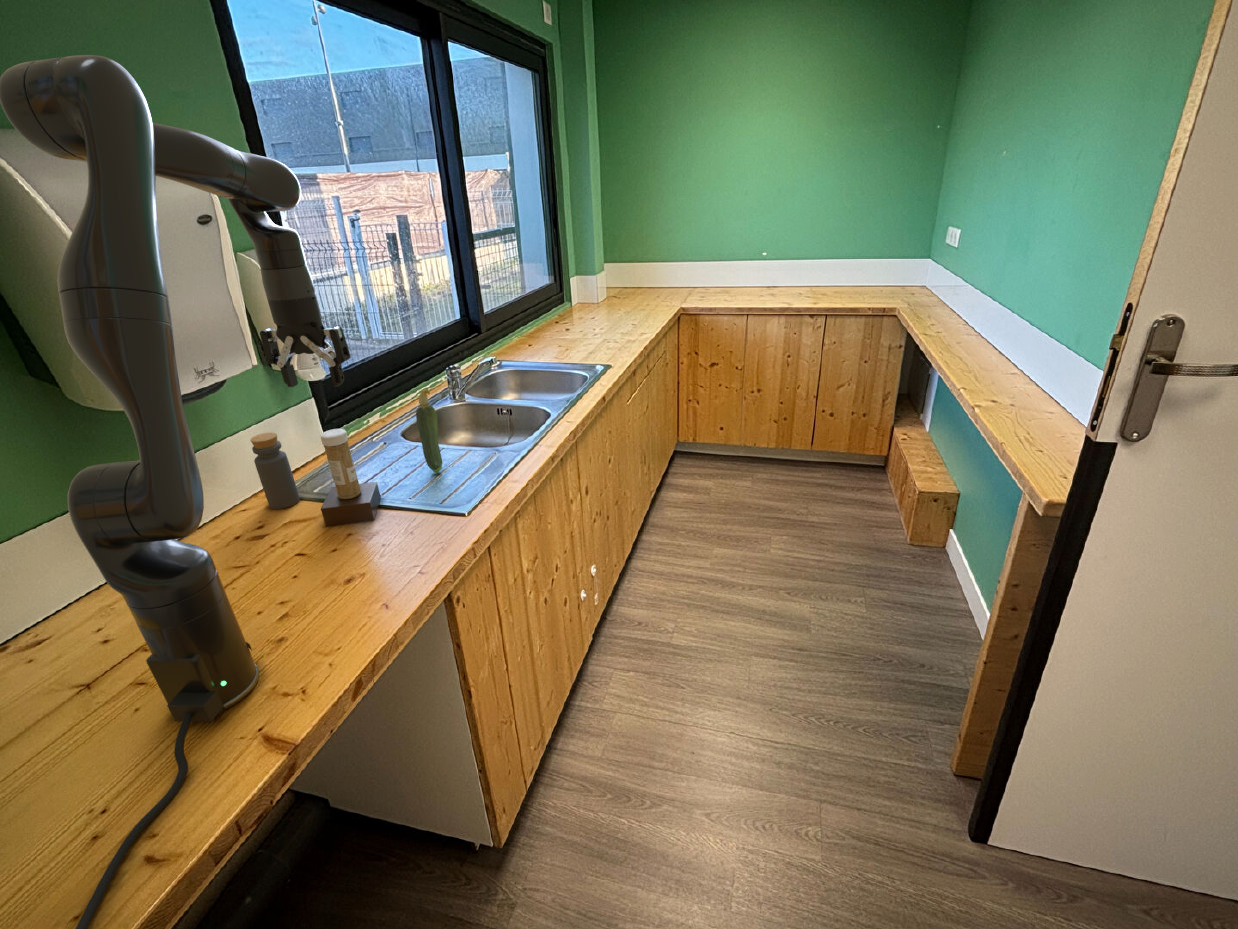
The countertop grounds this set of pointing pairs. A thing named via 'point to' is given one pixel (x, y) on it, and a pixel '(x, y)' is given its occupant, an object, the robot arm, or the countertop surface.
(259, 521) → the countertop surface
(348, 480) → the sprinkles bottle
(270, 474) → the bottle
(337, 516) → the block
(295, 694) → the countertop surface
